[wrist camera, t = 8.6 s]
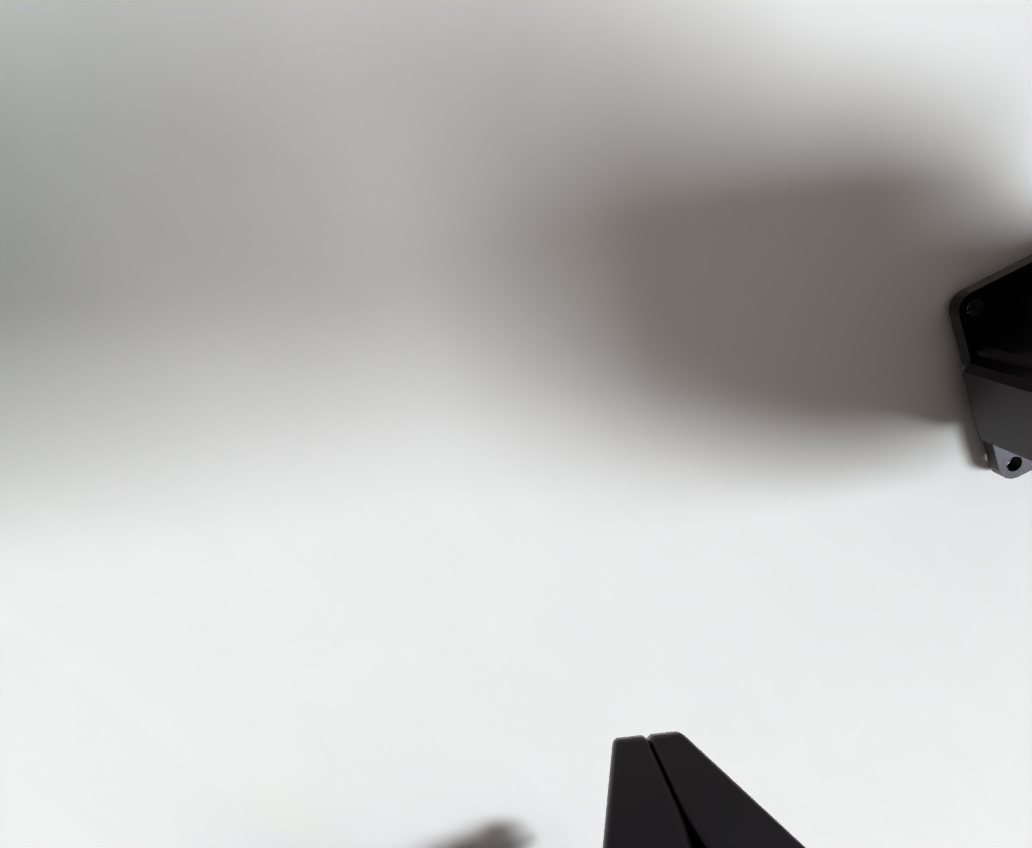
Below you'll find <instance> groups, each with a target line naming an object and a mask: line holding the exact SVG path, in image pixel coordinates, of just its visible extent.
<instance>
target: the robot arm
mask: <svg viewBox="0 0 1032 848" xmlns="http://www.w3.org/2000/svg"><path fill="white" fill-rule="evenodd" d="M971 301H973V308H972V309H971V311H970V312H969V313H967V307H968V305H969V303H970V302H971ZM949 315H950V319H951V323H952V326H953V330H954V334H955V338H956V342H957V345H958V349H959V353H960V357H961V360H962V364H963V378H964V382H965V385H966V389H967V393H968V396H969V400H970V404H971V408H972V411H973V415H974V419H975V423H976V426H977V430H978V434H979V437H980V439H981V440H983V443H984V447H985V450H986V454H987V458H988V462H989V465H990V468H991V470H992V471H993V472H995V473H997V474H999V475H1001V476H1003V477H1005V478H1011V479H1012V478H1015V477H1018V476H1020V475H1023V474H1025V473H1027V472H1029V471H1031V470H1032V255H1031V256H1029V257H1027V258H1025V259H1023V260H1021V261H1019V262H1017V263H1015V264H1013V265H1011V266H1009V267H1007V268H1005V269H1003V270H1001V271H999V272H997V273H995V274H993V275H991V276H989V277H987V278H985V279H983V280H981V281H979V282H977V283H975V284H973V285H971V286H969V287H967V288H966V289H964V290H962V291H960V292H959V293H957V294H956V295H955V296H954V297H953V299H952V300H951V302H950V306H949ZM1011 458H1012V460H1011V461H1010V463H1009V464H1008V465H1007V463H1008V461H1009V460H1010V459H1011ZM603 848H805V847H804V846H803V845H802V844H801V843H800V842H799V841H798V840H797V839H796V838H795V837H793V836H792V835H791V834H790V833H789V832H788V831H787V830H786V829H785V828H784V827H783V826H782V825H780V824H779V823H778V822H777V821H776V820H775V819H774V818H773V817H772V816H771V815H770V814H769V813H768V812H766V811H765V810H764V809H763V808H762V807H761V806H760V805H759V804H758V803H757V802H756V801H755V800H753V799H752V798H751V797H750V796H749V795H748V794H747V793H746V792H745V791H744V790H743V789H742V788H741V787H739V786H738V785H737V784H736V783H735V782H734V781H733V780H732V779H731V778H730V777H729V776H728V775H727V774H725V773H724V772H723V771H722V770H721V769H720V768H719V767H718V766H717V765H716V764H715V763H714V762H712V761H711V760H710V759H709V758H708V757H707V756H706V755H705V754H704V753H703V752H702V751H701V750H700V749H698V748H697V747H696V746H695V745H694V744H693V743H692V742H691V741H690V740H689V739H688V738H687V737H686V736H684V735H683V734H681V733H679V732H666V733H657V734H651V735H649V736H648V737H647V739H646V738H645V737H644V736H642V735H639V736H630V737H621V738H616V739H615V740H614V741H613V745H612V755H611V765H610V776H609V787H608V797H607V808H606V818H605V829H604V840H603Z"/></svg>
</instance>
